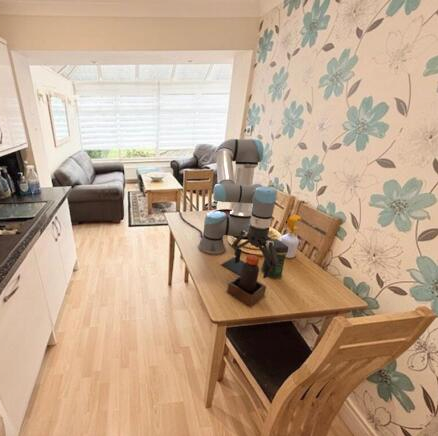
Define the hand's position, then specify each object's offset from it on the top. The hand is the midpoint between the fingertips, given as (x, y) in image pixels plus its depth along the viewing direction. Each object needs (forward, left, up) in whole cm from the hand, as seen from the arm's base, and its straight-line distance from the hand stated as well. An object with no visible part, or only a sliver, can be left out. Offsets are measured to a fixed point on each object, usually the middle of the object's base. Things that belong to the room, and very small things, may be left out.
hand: (250, 269), depth 104 cm
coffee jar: (-1, +25, -14) cm, 29 cm away
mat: (-15, +16, -14) cm, 26 cm away
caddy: (0, 0, -14) cm, 14 cm away
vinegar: (0, 0, -14) cm, 14 cm away
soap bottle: (-5, +50, -14) cm, 52 cm away
